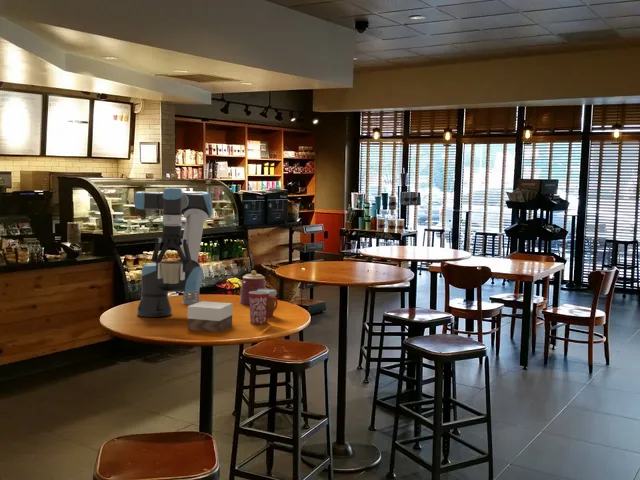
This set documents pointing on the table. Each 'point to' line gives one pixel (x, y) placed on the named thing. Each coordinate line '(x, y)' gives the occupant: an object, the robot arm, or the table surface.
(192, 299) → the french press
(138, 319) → the table surface
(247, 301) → the canister
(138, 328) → the table surface
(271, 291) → the disposable coffee cup
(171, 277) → the flower pot
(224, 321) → the tower base
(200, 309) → the tower top
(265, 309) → the mug
